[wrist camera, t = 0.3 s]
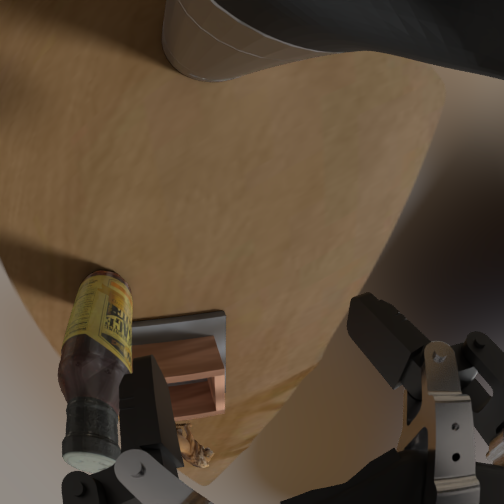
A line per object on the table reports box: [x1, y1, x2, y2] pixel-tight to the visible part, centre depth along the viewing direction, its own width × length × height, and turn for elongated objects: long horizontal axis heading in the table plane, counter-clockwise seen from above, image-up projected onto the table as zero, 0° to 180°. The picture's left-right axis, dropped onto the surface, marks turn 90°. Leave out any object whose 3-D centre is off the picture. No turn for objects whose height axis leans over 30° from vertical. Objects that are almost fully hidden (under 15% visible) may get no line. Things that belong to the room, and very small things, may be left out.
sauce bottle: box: [58, 270, 133, 473], centre depth 20 cm, size 7×6×20 cm
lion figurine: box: [177, 424, 214, 468], centre depth 41 cm, size 15×5×9 cm, turn 33°
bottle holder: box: [132, 311, 226, 421], centre depth 34 cm, size 17×15×6 cm
